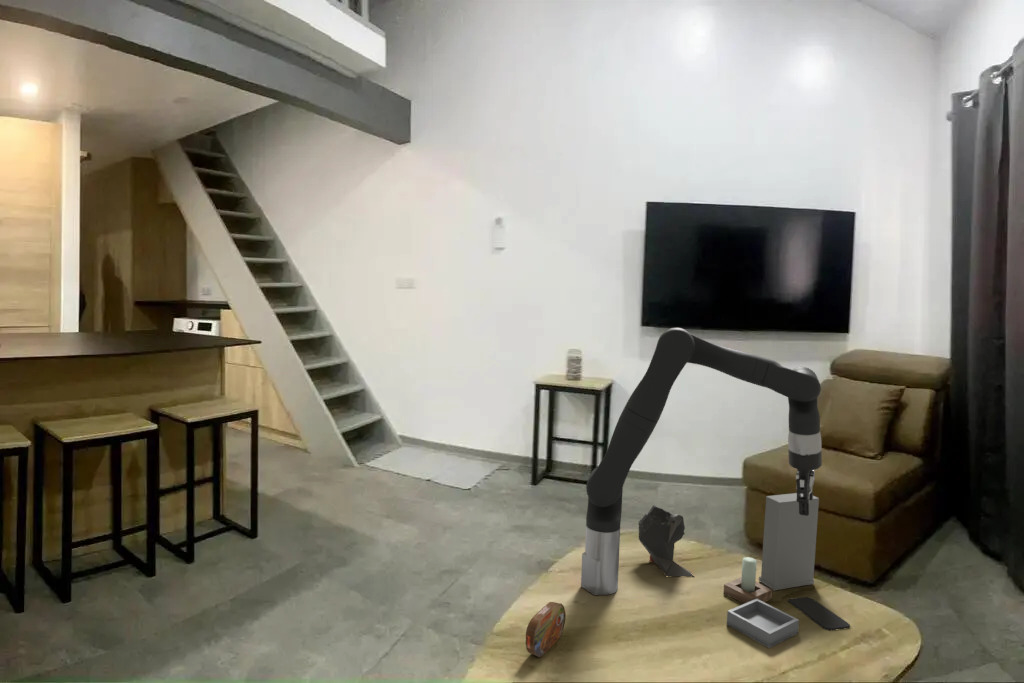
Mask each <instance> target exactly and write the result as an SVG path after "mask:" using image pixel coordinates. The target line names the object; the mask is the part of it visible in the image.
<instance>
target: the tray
mask: <svg viewBox="0 0 1024 683" xmlns="http://www.w3.org/2000/svg"><path fill="white" fill-rule="evenodd" d="M726 612H727V613H726V625H727V626H729V627H730V628H732V629H734V630H736V631H738V632H739V633H741V634H743V635H744V636H746V637H748V638H750V639H752V640H753V641H755V642H757V643H759V644H760V645H763V646H764V647H766V648H768V649H771V648H772V647H775V646H777V645H778V644H781V643H782V642H785V641H787V640H788V639H790V638H792V637H794V636H797V635H798V634H799V628H800V626H799V625H800V619H798V618H796V617H794V616H793V615H790V614H788V613H786V612H784V611H783V610H781V609H779V608H776V607H774V606H772V605H771V604H768V603H766V602H762V601H760V600H758V599H754V600H752V601H750V602H747V603H745V604H744V603H742V604H741V605H738V606H736V607H733V608H731V609H728V610H727V611H726Z"/></svg>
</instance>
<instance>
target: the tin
mask: <svg viewBox="0 0 1024 683" xmlns="http://www.w3.org/2000/svg"><path fill="white" fill-rule="evenodd" d="M566 616H567V615H566V609H565V606H564V604H563V603H558V602H556V601H555V602H554V601H549V602H548V603H546V604H545V605H544V606H543V607H542V608H541V609H540V610H539V611H538V612H536V613H535V615H534V616H532V618H531V619H530V620H529V622H528V625H527V627H526V631H525V648H526V651H527V653H529V654H531V655H534V656H535V657H538V658H541V657H543V656H544V655H545V654H546V653H547V652H548V651H549V650H550V649H551V648H552V647H553V646H554V645H555V644H556V642H558V641H559V640H560V638H561V636H562V634H563V632H564V628H565V625H566Z"/></svg>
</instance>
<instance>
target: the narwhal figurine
mask: <svg viewBox="0 0 1024 683" xmlns="http://www.w3.org/2000/svg"><path fill="white" fill-rule="evenodd" d="M685 529H686V527H685V521H684V517H683V515H681V514H679V513H672V512H670V511H668V510H664V509H663V508H661V507H658V506H657V505H655V504H652V506H651V507H650V509H649V511H648V512H645V513H644V515H643V516H642V518H641V519H639V521H638V540H639V542H640V543H641V545H642V546H643V547H644V548H645V549H646V551H647V553H648V554H649V562H650V561H651V562H650V563H652V562H653V564H656V565H657V566H658V567H659V569H660V570H661V571H662V572H663V574H664V573H665V574H664V575H665V577H666V576H693V575H694V574H693V573H692V572H691V571H689V570H688V569H686V568H685V567H683V566H681V565H680V564H679V563H677V562H675V561H674V553H675V543H677V542H678V541H680V540H682V539H683V537H684V535H685ZM691 573H692V574H693V575H692V574H691Z"/></svg>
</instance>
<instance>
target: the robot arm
mask: <svg viewBox="0 0 1024 683" xmlns="http://www.w3.org/2000/svg"><path fill="white" fill-rule="evenodd" d="M655 346H656V347H655V348H654V352H653V355H652V357H651V360H650V363H649V365H648V367H647V369H646V372H645V374H644V376H643V377H642V379H641V380H640V381H639V382H638V384H637V385H636V387H635V389H634V390H633V392H632V393H631V395H630V397H629V399H628V400H627V401H626V404H625V405H624V407H623V409H622V412H620V415H619V418H618V420H617V422H616V425H615V426H614V430H613V432H612V435H611V437H610V438H611V439H610V442H609V445H608V447H607V450H606V452H605V455H604V456H603V458H602V460H601V461H600V462H599V465H598V466H597V467H595V468H594V469H593V470H592V471H591V473H590V474H589V476H588V480H587V481H586V486H585V487H586V489H585V490H586V495H587V497H588V499H587V511H586V517H585V519H586V520H585V542H584V543H585V544H584V546H585V547H584V552H582V554H581V572H580V573H581V574H580V575H581V578H580V581H581V582H580V587H581V588H583V589H584V590H586V591H588V592H590V593H591V594H592V595H594V596H599V595H600V596H604V595H605V596H607V595H613V594H614V593H616V592H617V591H618V589H619V568H620V567H619V565H620V544H621V523H622V522H621V520H622V510H623V509H622V508H623V492H624V490H623V488H624V485H625V482H626V479H627V477H628V475H629V472H630V470H631V468H632V466H633V464H634V462H635V461H636V459H637V458H638V457H639V455H640V453H642V450H643V449H644V447H645V446H646V444H647V442H648V441H649V438H651V435H652V434H653V432H654V430H655V428H656V426H657V424H658V422H659V420H660V418H661V417H662V416H661V415H662V413H663V411H664V409H665V406H666V403H667V400H668V398H669V395H670V392H671V390H672V388H673V386H674V383H675V382H676V380H677V378H678V377H679V375H680V374H681V372H682V370H683V369H684V367H685V366H686V365H687V363H689V364H693V365H694V364H695V365H699V366H703V367H707V368H709V369H713V370H716V371H718V372H720V373H723V374H725V375H728V376H730V377H733V378H736V379H738V380H741V381H744V382H745V383H746V382H747V383H749V384H752V385H753V384H754V385H756V386H759V387H763V388H766V389H769V390H771V391H773V392H775V393H778V394H780V395H782V396H785V397H786V398H787V401H788V435H787V436H788V437H787V449H788V452H787V453H788V463H789V465H790V466H791V468H794V469H795V470H796V471H797V472H796V473H795V483H796V484H795V485H796V486H795V490H796V493H797V499H796V500H797V502H799V514H800V515H805V516H808V515H809V501H810V500H812V499H813V496H814V492H813V491H814V490H813V486H814V484H815V479H816V478H815V474H816V472H815V470H818V469H820V468H821V467H822V464H823V463H822V462H823V459H822V458H823V457H822V456H823V455H822V454H823V453H822V436H821V422H820V421H821V417H820V411H819V408H818V397H819V395H820V393H821V391H822V390H821V383H820V381H819V377H818V376H817V374H816V373H815V371H813V370H812V369H811V368H809V367H805V366H799V367H796V368H793V369H791V368H788V367H785V366H782V365H781V364H780V363H779V362H777V361H776V360H774V359H770V358H766V357H763V356H759V355H756V354H753V353H749V352H746V351H740V350H736V349H733V348H729V347H725V346H723V345H720V344H719V345H718V344H715V343H713V342H710V341H708V340H705V339H703V338H701V337H699V336H696V335H694V334H693V333H691V332H689V331H687V330H686V329H684V328H682V327H671V328H668V329H666V330H665V331H663V333H662V334H660V336H659V338H658V340H657V343H656V345H655ZM801 494H803V497H802V496H801Z"/></svg>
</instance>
